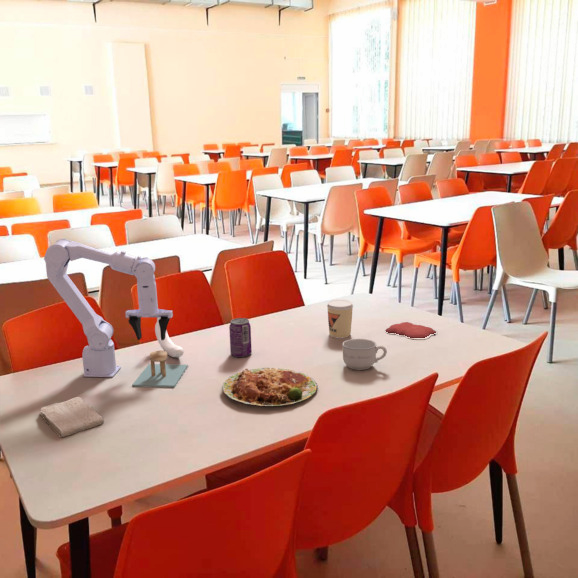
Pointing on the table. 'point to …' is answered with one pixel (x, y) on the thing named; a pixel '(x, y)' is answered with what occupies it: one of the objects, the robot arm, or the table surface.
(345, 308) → the coffee cup
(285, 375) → the rice dish
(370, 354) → the teacup
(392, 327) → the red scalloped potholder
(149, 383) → the mat
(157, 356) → the tan piece
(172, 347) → the banana
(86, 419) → the washcloth
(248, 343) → the beverage can
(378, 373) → the table surface
